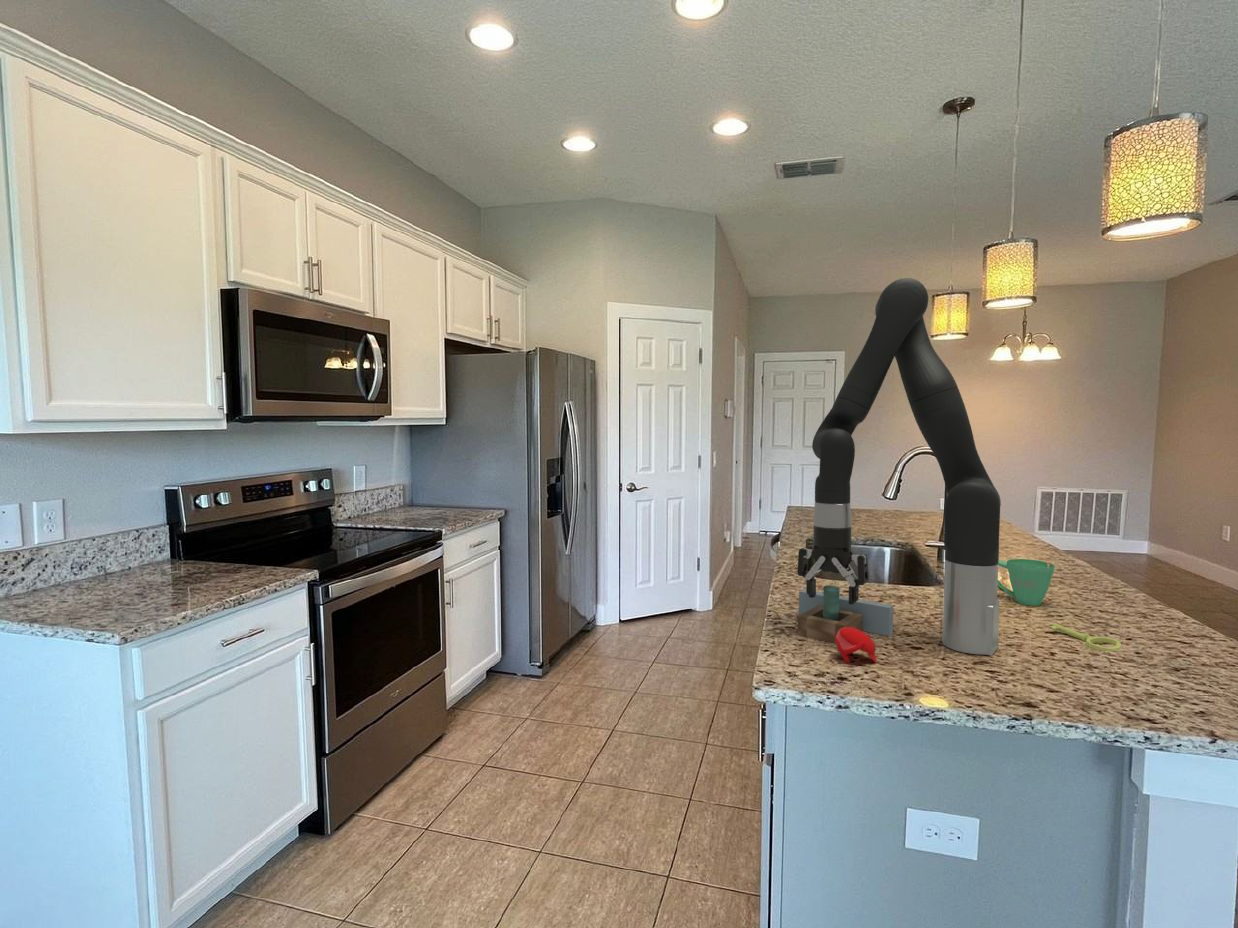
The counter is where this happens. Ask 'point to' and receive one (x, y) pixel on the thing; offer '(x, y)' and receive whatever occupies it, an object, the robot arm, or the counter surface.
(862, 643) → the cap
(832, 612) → the dowel
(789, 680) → the counter surface
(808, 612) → the holed block
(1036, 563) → the mug
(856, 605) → the wall
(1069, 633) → the key
